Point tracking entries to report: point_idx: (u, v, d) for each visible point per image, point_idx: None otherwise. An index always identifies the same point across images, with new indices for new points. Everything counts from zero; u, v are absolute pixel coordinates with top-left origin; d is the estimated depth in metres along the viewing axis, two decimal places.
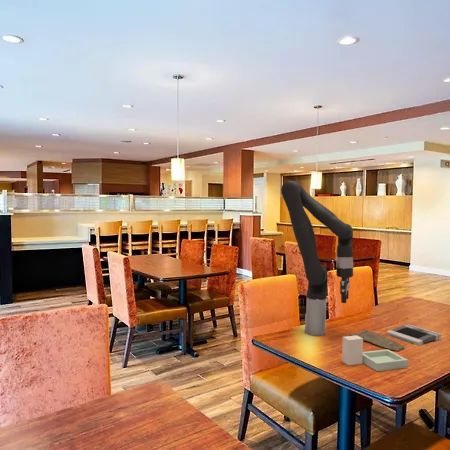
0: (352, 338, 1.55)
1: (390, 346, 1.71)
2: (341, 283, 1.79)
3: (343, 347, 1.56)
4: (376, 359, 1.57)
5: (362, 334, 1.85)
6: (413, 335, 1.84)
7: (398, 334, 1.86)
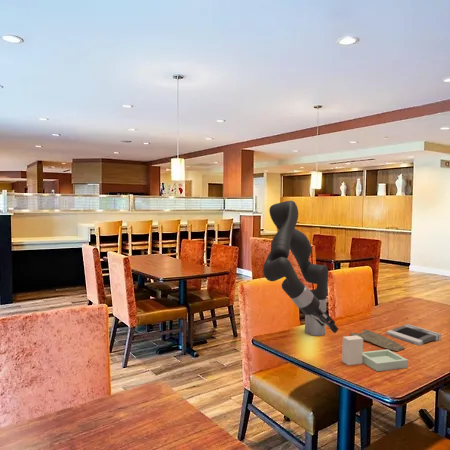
0: (352, 338, 1.55)
1: (390, 346, 1.71)
2: (324, 317, 1.43)
3: (343, 347, 1.56)
4: (376, 359, 1.57)
5: (363, 334, 1.85)
6: (413, 335, 1.84)
7: (398, 334, 1.86)
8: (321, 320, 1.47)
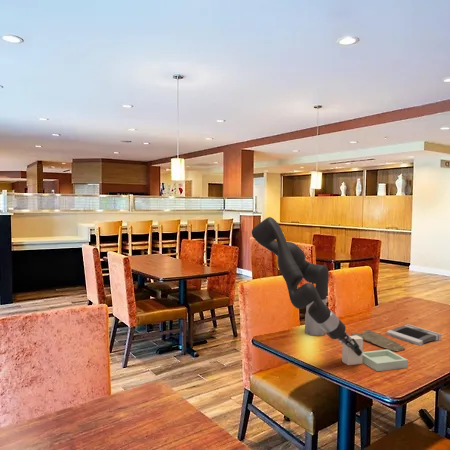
0: (352, 337, 1.55)
1: (390, 346, 1.71)
2: (352, 344, 1.48)
3: (343, 347, 1.56)
4: (376, 359, 1.57)
5: (364, 334, 1.85)
6: (413, 335, 1.84)
7: (398, 334, 1.86)
8: (347, 344, 1.52)
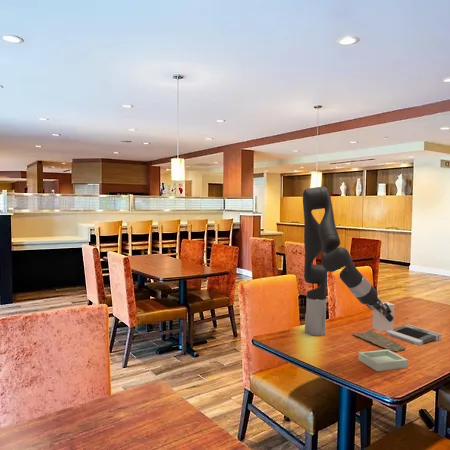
0: None
1: (390, 346, 1.70)
2: (384, 308, 1.47)
3: (374, 313, 1.55)
4: (376, 359, 1.57)
5: (365, 334, 1.85)
6: (413, 335, 1.84)
7: (398, 334, 1.86)
8: (378, 310, 1.51)
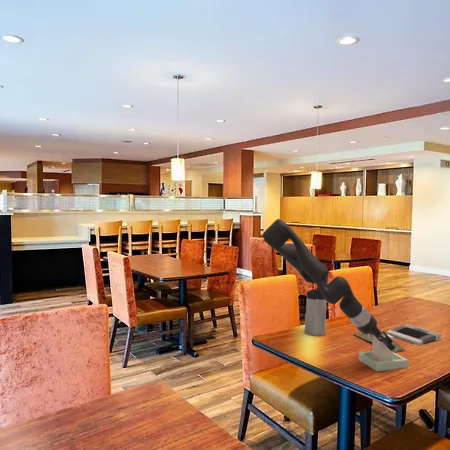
0: None
1: None
2: (383, 337, 1.47)
3: (373, 345, 1.56)
4: None
5: (365, 334, 1.85)
6: (413, 335, 1.84)
7: (398, 334, 1.86)
8: (379, 339, 1.51)
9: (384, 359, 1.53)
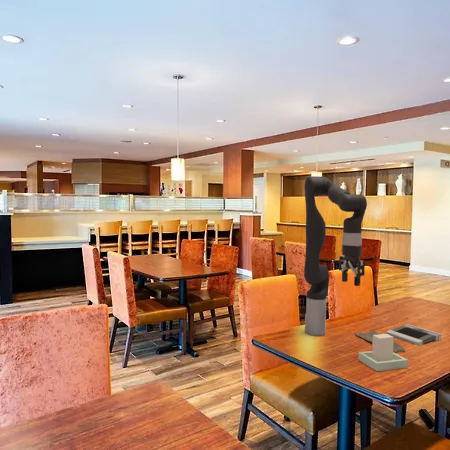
0: (382, 336, 1.55)
1: None
2: (360, 263, 1.54)
3: (373, 345, 1.56)
4: None
5: (367, 334, 1.85)
6: (413, 335, 1.84)
7: (398, 334, 1.86)
8: (353, 267, 1.57)
9: (384, 359, 1.53)
